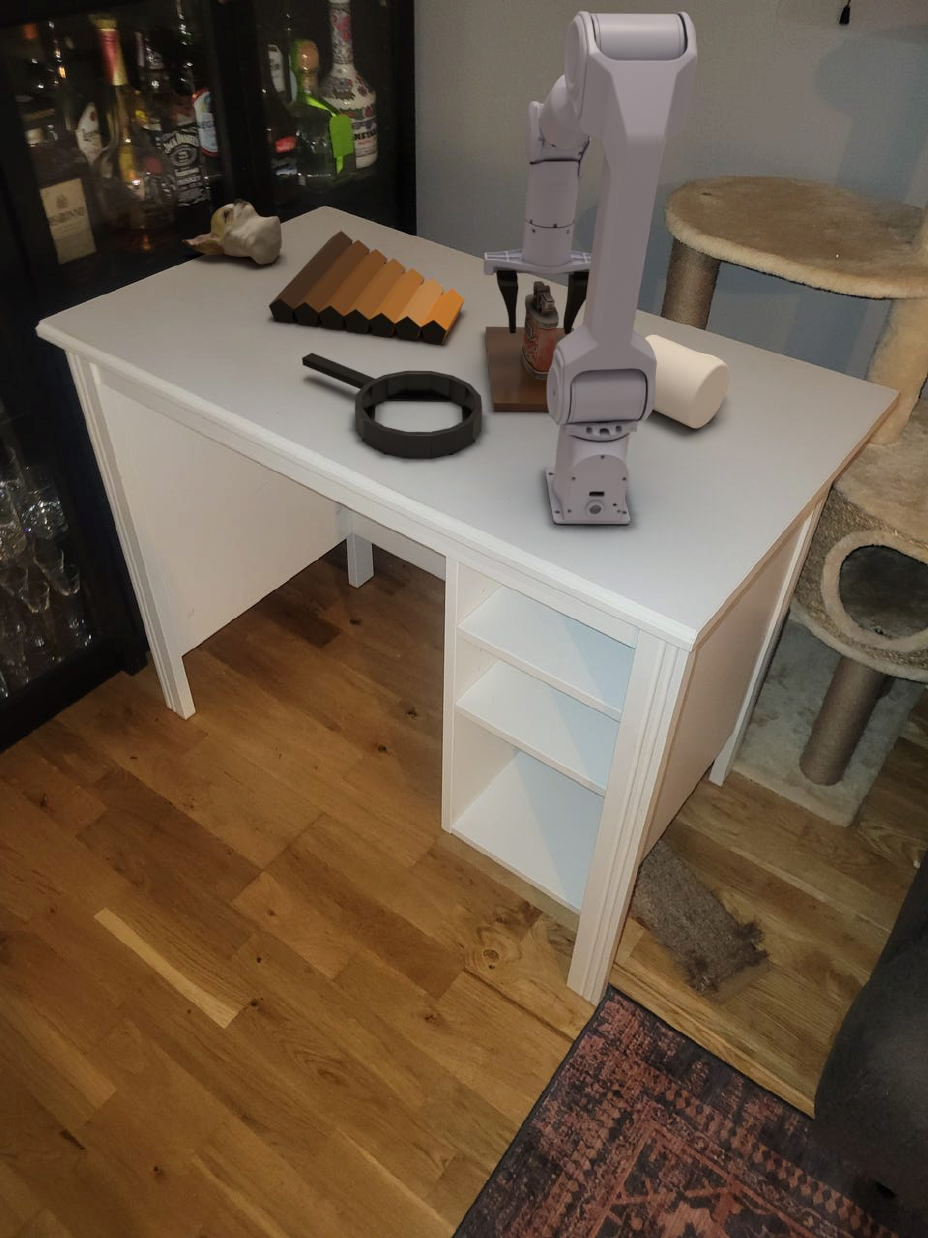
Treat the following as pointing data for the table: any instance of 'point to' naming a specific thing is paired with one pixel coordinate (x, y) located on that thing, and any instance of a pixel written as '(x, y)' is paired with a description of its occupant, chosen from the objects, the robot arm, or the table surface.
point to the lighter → (539, 331)
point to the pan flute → (366, 295)
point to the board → (514, 372)
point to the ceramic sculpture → (241, 234)
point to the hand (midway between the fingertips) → (539, 330)
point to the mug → (687, 382)
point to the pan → (407, 389)
